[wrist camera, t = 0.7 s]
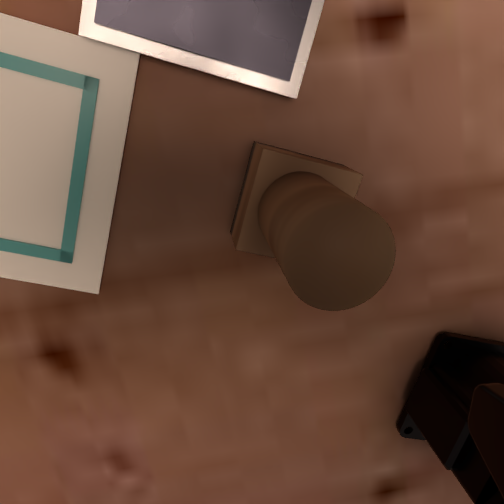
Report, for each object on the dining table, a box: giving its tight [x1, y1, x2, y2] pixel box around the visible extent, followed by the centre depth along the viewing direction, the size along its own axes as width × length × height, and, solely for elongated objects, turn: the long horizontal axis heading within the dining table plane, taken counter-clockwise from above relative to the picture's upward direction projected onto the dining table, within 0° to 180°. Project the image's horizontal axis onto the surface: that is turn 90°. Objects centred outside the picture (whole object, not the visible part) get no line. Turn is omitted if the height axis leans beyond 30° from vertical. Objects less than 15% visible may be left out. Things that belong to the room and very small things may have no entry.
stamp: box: [230, 141, 396, 311], centre depth 16 cm, size 4×4×7 cm
